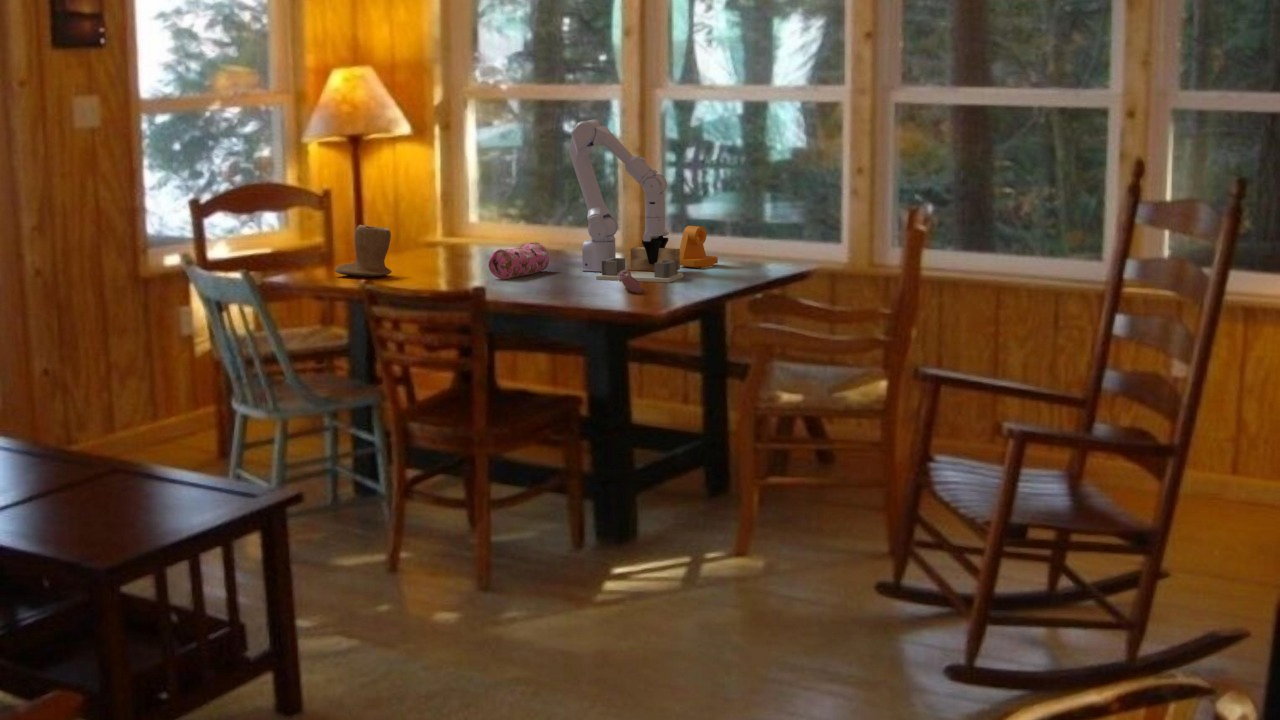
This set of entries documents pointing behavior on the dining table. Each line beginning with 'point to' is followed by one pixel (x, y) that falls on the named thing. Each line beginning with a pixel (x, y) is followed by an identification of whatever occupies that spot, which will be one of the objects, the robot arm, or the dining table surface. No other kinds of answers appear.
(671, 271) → the cradle
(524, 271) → the pencil case
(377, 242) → the top hat
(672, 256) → the wooden block
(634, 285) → the pink rounded piece
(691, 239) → the bracket
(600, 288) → the dining table surface
